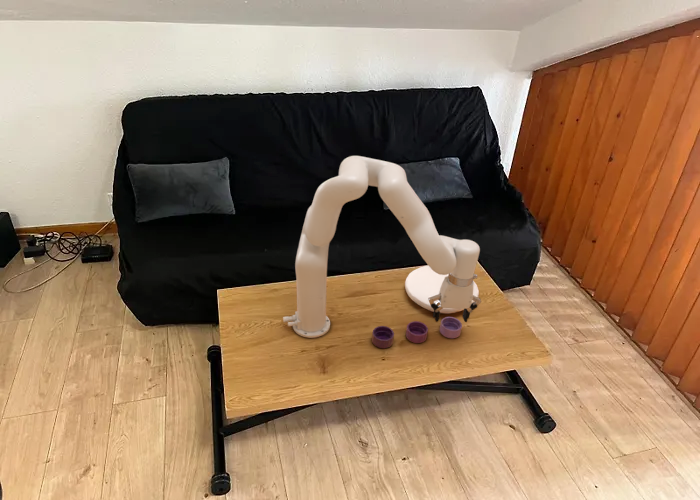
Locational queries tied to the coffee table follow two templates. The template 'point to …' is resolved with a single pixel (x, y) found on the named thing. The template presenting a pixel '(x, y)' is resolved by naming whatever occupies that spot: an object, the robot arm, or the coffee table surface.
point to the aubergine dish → (382, 336)
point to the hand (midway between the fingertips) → (450, 319)
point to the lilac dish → (450, 327)
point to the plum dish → (416, 332)
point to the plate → (428, 288)
